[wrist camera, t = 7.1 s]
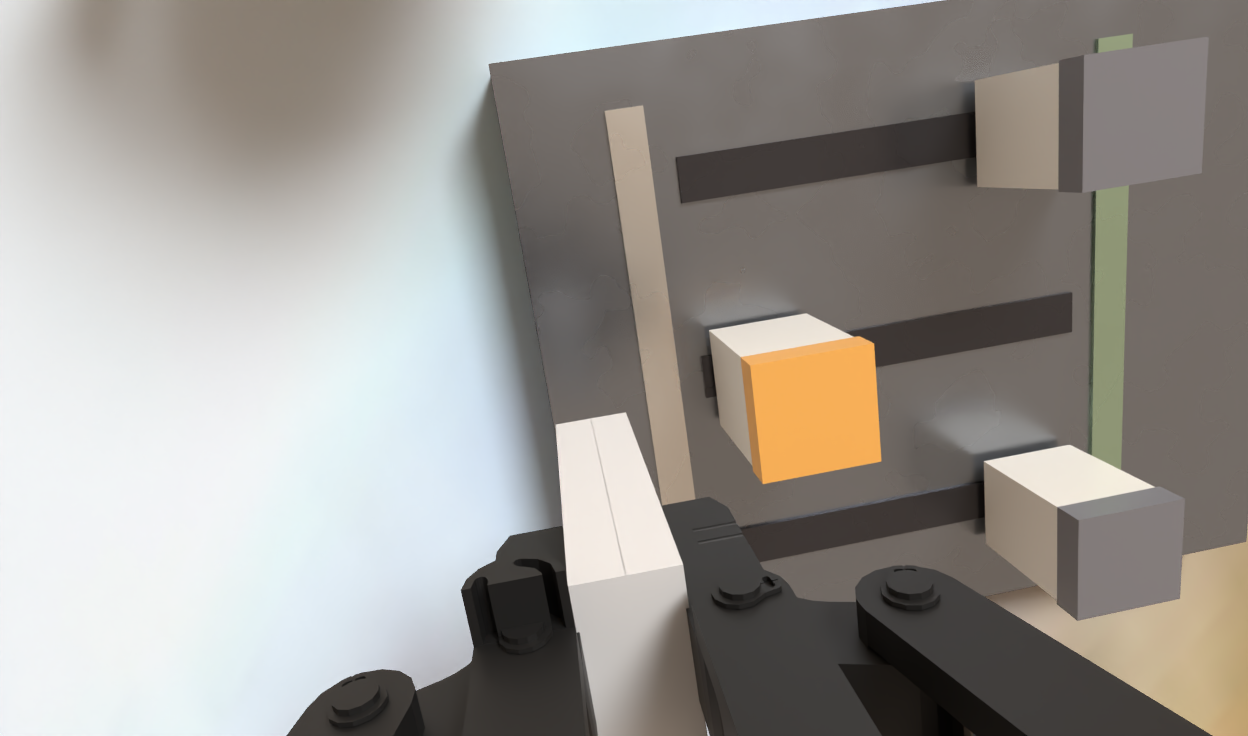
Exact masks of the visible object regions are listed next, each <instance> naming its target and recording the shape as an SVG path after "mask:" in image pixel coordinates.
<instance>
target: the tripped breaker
mask: <svg viewBox="0 0 1248 736" xmlns="http://www.w3.org/2000/svg"><path fill="white" fill-rule="evenodd" d="M709 335H710V343H711V352H712V360H713V368H714V377H715V385H716V393H717V402H718V410H719V418H720V425H721V426H722V428H723V429H724V430H725V432H726V433H727V434H728V435H729V437H730V438H731V439H732V441H733V442H734V443H735V444H736V446H737V447H738V448H739V450H740V451H741V452H742V453H743V455H744V456H745V457H746V458H747V460H748V461H749V462H750V464H751V465H752V467H753V472H754V473H755V475H756V476H757V477H758V478H759V480H760V481H761V482H762V484H767V483H772V482H777V481H782V480H787V479H793V478H798V477H803V476H808V475H814V474H819V473H824V472H829V471H834V470H840V469H845V468H850V467H855V466H860V465H866V464H871V463H876V462H881V447H880V430H879V414H878V398H877V382H876V366H875V350H874V343H872V342H870V341H868V340H866V339H864V338H862V337H860V336H857V337H853V336H851V335H849V334H847V333H845V332H843V331H841V330H839V329H837V328H835V327H833V326H831V325H829V324H827V323H825V322H823V321H821V320H819V319H817V318H815V317H813V316H811V315H809V314H807V313H805V314H800V315H794V316H788V317H782V318H776V319H771V320H765V321H759V322H753V323H748V324H742V325H736V326H730V327H724V328H719V329H713V330H709Z"/></svg>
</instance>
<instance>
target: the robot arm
mask: <svg viewBox="0 0 1248 736" xmlns="http://www.w3.org/2000/svg"><path fill="white" fill-rule="evenodd" d="M556 437H557V451H558V464H559V478H560V491H561V504H562V518H563V526H560V527H555V528H549V529H544V530H539V531H533V532H528V533H522V534H517V535H512V536H510V537H509V538H508V539H507V540H506V541H505V543H504V544H503V545H502V546H501V548H500V549H499V550H498V551H497V554H496V561H494V562H492V563H490V564H488V565H486V566H484V567H482V568H480V569H478V570H477V571H476V572H475V573H473V574H472V575H471V576H470V577H469V578H468V579H467V580H466V581H465V583H464V585H463V587H462V589H461V593H462V597H463V601H464V606H465V610H466V615H467V619H468V623H469V628H470V632H471V637H472V641H473V645H474V650H473V657H472V662H471V663H470V664H469V665H467V666H466V667H464V668H463V669H461V670H460V671H458V672H457V673H455V674H453V675H451V676H449V677H447V678H445V679H443V680H441V681H439V682H436V683H434V684H432V685H429V686H427V687H424V688H422V689H419V690H417V691H416V690H415V687H414V684H413V681H412V679H411V677H409V676H407V675H405V674H404V673H402V672H400V671H394V670H384V669H381V670H376V671H370V672H363V673H360V674H356V675H354V676H353V677H348V678H346V679H344V680H342V681H340V682H339V683H337V684H336V685H334V686H332V687H331V688H329V689H328V690H326V691H325V692H323V693H322V694H321V695H320V696H319V697H318V698H317V699H316V700H315V701H314V702H313V703H312V704H311V705H310V706H309V707H308V708H307V709H306V710H305V712H304V713H303V714H302V716H301V717H300V718H299V720H298V721H297V722H296V724H295V725H294V726H293V728H292V729H291V730H290V732H289V733H288V734H287V736H707V730H706V724H707V727H708V731H709V734H710V736H1212V735H1210V734H1209V733H1207V732H1205V731H1204V730H1202V729H1201V728H1199V727H1197V726H1196V725H1194V724H1192V723H1191V722H1189V721H1187V720H1186V719H1184V718H1183V717H1181V716H1179V715H1178V714H1176V713H1174V712H1173V711H1171V710H1169V709H1168V708H1166V707H1164V706H1163V705H1161V704H1160V703H1158V702H1156V701H1155V700H1153V699H1151V698H1150V697H1148V696H1146V695H1145V694H1143V693H1141V692H1140V691H1138V690H1137V689H1135V688H1133V687H1132V686H1130V685H1128V684H1127V683H1125V682H1123V681H1122V680H1120V679H1119V678H1117V677H1115V676H1114V675H1112V674H1110V673H1109V672H1107V671H1105V670H1104V669H1102V668H1100V667H1099V666H1097V665H1096V664H1094V663H1092V662H1091V661H1089V660H1087V659H1086V658H1084V657H1082V656H1081V655H1079V654H1078V653H1076V652H1074V651H1073V650H1071V649H1069V648H1068V647H1066V646H1064V645H1063V644H1061V643H1059V642H1058V641H1056V640H1055V639H1053V638H1051V637H1050V636H1048V635H1046V634H1045V633H1043V632H1041V631H1040V630H1038V629H1037V628H1035V627H1033V626H1032V625H1030V624H1028V623H1027V622H1025V621H1023V620H1022V619H1020V618H1018V617H1017V616H1015V615H1014V614H1012V613H1010V612H1009V611H1007V610H1005V609H1004V608H1002V607H1000V606H999V605H997V604H995V603H994V602H992V601H991V600H989V599H987V598H986V597H984V596H982V595H981V594H979V593H977V592H976V591H974V590H973V589H971V588H969V587H968V586H966V585H964V584H963V583H961V582H959V581H958V580H956V579H954V578H953V577H951V576H948V575H946V574H944V573H941V572H939V571H937V570H934V569H928V568H923V567H918V566H914V565H905V566H902V565H898V566H891V567H887V568H883V569H878V570H875V571H873V572H871V573H869V574H868V575H866V576H864V577H862V578H861V580H860V581H859V583H858V584H857V585H856V587H855V594H856V602H826V601H812V600H807V599H803V598H798V597H797V596H796V595H795V593H794V592H793V590H792V588H791V587H790V585H789V584H788V583H787V582H786V581H785V580H784V579H783V578H782V577H781V576H779V575H776V574H774V573H771V572H769V571H766V570H764V569H763V567H762V565H761V564H760V562H759V560H758V559H757V557H756V555H755V553H754V552H753V550H752V548H751V546H750V545H749V543H748V541H747V540H746V538H745V536H743V533H742V531H741V529H740V527H739V526H738V524H736V520H735V519H734V517H733V515H732V514H731V512H730V510H729V508H728V507H727V506H725V505H723V504H721V503H720V502H718V501H716V500H714V499H712V498H710V497H705V498H700V499H694V500H689V501H683V502H678V503H672V504H667V505H662V506H661V504H660V502H659V499H658V496H657V494H656V491H655V489H654V486H653V483H652V481H651V478H650V475H649V473H648V470H647V467H646V465H645V462H644V459H643V457H642V454H641V451H640V449H639V446H638V443H637V441H636V438H635V435H634V433H633V430H632V427H631V425H630V422H629V419H628V417H627V414H626V412H625V413H619V414H613V415H607V416H602V417H596V418H590V419H585V420H579V421H573V422H568V423H562V424H556ZM705 721H706V723H705Z"/></svg>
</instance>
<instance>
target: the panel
mask: <svg viewBox="0 0 1248 736" xmlns="http://www.w3.org/2000/svg"><path fill="white" fill-rule="evenodd" d="M1208 36H1209V41H1208V61H1207V80H1206V100H1205V119H1204V139H1203V158H1202V173H1200V174H1194V175H1188V176H1182V177H1176V178H1170V179H1164V180H1158V181H1152V182H1146V183H1139V184H1133V185H1127V186H1121V187H1115V188H1109V189H1103V190H1097V191H1091V192H1085V193H1072V192H1058V189H1025V188H991V187H977V158H976V116H975V80H978V79H983V78H988V77H993V76H998V75H1002V74H1007V73H1012V72H1017V71H1022V70H1026V69H1031V68H1036V67H1041V66H1046V65H1050V64H1055V63H1059V60H1062V59H1067V58H1072V57H1077V56H1081V55H1087V54H1094V53H1100V52H1107V51H1114V50H1121V49H1127V48H1134V47H1141V46H1148V45H1154V44H1161V43H1168V42H1175V41H1181V40H1188V39H1195V38H1202V37H1208ZM489 69H490V75H491V80H492V86H493V91H494V97H495V102H496V108H497V113H498V119H499V125H500V130H501V136H502V141H503V147H504V152H505V158H506V163H507V169H508V174H509V180H510V185H511V191H512V196H513V202H514V207H515V213H516V218H517V224H518V230H519V235H520V241H521V246H522V252H523V257H524V263H525V268H526V274H527V279H528V285H529V290H530V296H531V301H532V307H533V312H534V318H535V323H536V329H537V335H538V340H539V346H540V351H541V357H542V362H543V368H544V373H545V379H546V384H547V390H548V395H549V401H550V406H551V412H552V417H553V423H554V428H555V434H556V424H562V423H568V422H573V421H579V420H585V419H590V418H596V417H602V416H607V415H613V414H619V413H625V412H626V414H627V417H628V419H629V422H630V425H631V427H632V430H633V433H634V435H635V438H636V441H637V443H638V446H639V449H640V451H641V454H642V457H643V459H644V462H645V465H646V467H647V470H648V473H649V475H650V478H651V481H652V483H653V486H654V489H655V491H656V494H657V496H658V499H659V502H660V504H661V506H662V505H667V504H672V503H678V502H683V501H689V500H694V499H700V498H705V497H710V498H712V499H714V500H716V501H718V502H720V503H721V504H723V505H725V506H727V507H728V508H729V510H730V512H731V514H732V515H733V517H734V519H735V520H736V524H738V526H739V527H740V529H741V531H742V533H743V536H745V538H746V540H747V541H748V543H749V545H750V546H751V548H752V550H753V552H754V553H755V555H756V557H757V559H758V560H759V562H760V564H761V565H762V567H763V569H764V570H766V571H769V572H771V573H774V574H776V575H779V576H781V577H782V578H783V579H784V580H785V581H786V582H787V583H788V584H789V585H790V587H791V588H792V590H793V592H794V593H795V595H796V596H797V597H798V598H803V599H807V600H812V601H826V602H856V594H855V587H856V585H857V584H858V583H859V581H860V580H861V578H862V577H864V576H866V575H868V574H869V573H871V572H873V571H875V570H878V569H883V568H887V567H891V566H898V565H902V566H905V565H914V566H918V567H923V568H928V569H934V570H937V571H939V572H941V573H944V574H946V575H948V576H951V577H953V578H954V579H956V580H958V581H959V582H961V583H963V584H964V585H966V586H968V587H969V588H971V589H973V590H974V591H976V592H977V593H979V594H981V595H982V596H984V597H985V596H990V595H995V594H1000V593H1004V592H1009V591H1014V590H1019V589H1023V588H1028V587H1033V586H1038V585H1037V584H1035V583H1034V582H1033V581H1032V580H1030V579H1029V578H1028V577H1027V576H1025V575H1024V574H1023V573H1022V572H1020V571H1019V570H1018V569H1017V568H1015V567H1014V566H1013V565H1012V564H1011V563H1009V562H1008V561H1007V560H1006V559H1004V558H1003V557H1002V556H1001V555H999V554H998V553H997V552H996V551H994V550H993V549H992V548H991V547H989V546H988V545H987V544H986V533H985V492H984V461H988V460H993V459H998V458H1003V457H1008V456H1014V455H1019V454H1024V453H1029V452H1034V451H1039V450H1044V449H1050V448H1055V447H1060V446H1065V445H1071V446H1073V447H1075V448H1077V449H1079V450H1082V451H1084V452H1086V453H1088V454H1090V455H1092V456H1094V457H1096V458H1098V459H1100V460H1102V461H1104V462H1106V463H1108V464H1110V465H1112V466H1114V467H1116V468H1118V469H1120V470H1122V471H1124V472H1126V473H1128V474H1130V475H1132V476H1134V477H1136V478H1138V479H1140V480H1142V481H1144V482H1146V483H1148V484H1150V485H1152V486H1154V487H1159V486H1160V487H1162V488H1164V489H1166V490H1168V491H1170V492H1172V493H1174V494H1176V495H1178V496H1180V497H1182V498H1184V499H1185V508H1184V528H1183V547H1182V555H1185V554H1190V553H1195V552H1200V551H1204V550H1209V549H1214V548H1219V547H1223V546H1228V545H1233V544H1238V543H1242V542H1246V538H1247V524H1248V0H945V1H937V2H930V3H923V4H916V5H909V6H902V7H894V8H887V9H880V10H873V11H866V12H858V13H851V14H844V15H837V16H830V17H823V18H815V19H808V20H801V21H794V22H787V23H780V24H772V25H765V26H758V27H751V28H744V29H736V30H729V31H722V32H715V33H708V34H701V35H693V36H686V37H679V38H672V39H665V40H658V41H650V42H643V43H636V44H629V45H622V46H614V47H607V48H600V49H593V50H586V51H579V52H571V53H564V54H557V55H550V56H543V57H536V58H528V59H521V60H514V61H507V62H500V63H492V64H489ZM805 313H807V314H809V315H811V316H813V317H815V318H817V319H819V320H821V321H823V322H825V323H827V324H829V325H831V326H833V327H835V328H837V329H839V330H841V331H843V332H845V333H847V334H849V335H851V336H853V337H857V336H860V337H862V338H864V339H866V340H868V341H870V342H872V343H874V350H875V366H876V382H877V398H878V414H879V430H880V447H881V462H876V463H871V464H866V465H860V466H855V467H850V468H845V469H840V470H834V471H829V472H824V473H819V474H814V475H808V476H803V477H798V478H793V479H787V480H782V481H777V482H772V483H767V484H762V482H761V481H760V480H759V478H758V477H757V476H756V475H755V473H754V472H753V467H752V465H751V464H750V462H749V461H748V460H747V458H746V457H745V456H744V455H743V453H742V452H741V451H740V450H739V448H738V447H737V446H736V444H735V443H734V442H733V441H732V439H731V438H730V437H729V435H728V434H727V433H726V432H725V430H724V429H723V428H722V426H721V425H720V418H719V410H718V402H717V393H716V385H715V377H714V368H713V360H712V352H711V343H710V335H709V330H713V329H719V328H724V327H730V326H736V325H742V324H748V323H753V322H759V321H765V320H771V319H776V318H782V317H788V316H794V315H800V314H805ZM556 440H557V437H556Z"/></svg>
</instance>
